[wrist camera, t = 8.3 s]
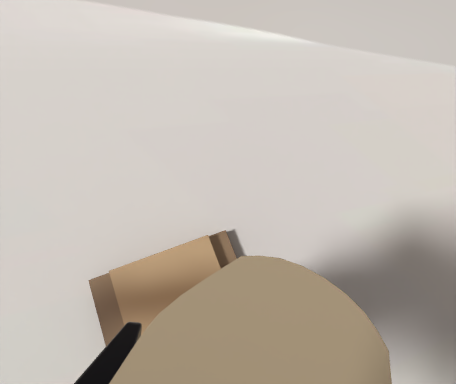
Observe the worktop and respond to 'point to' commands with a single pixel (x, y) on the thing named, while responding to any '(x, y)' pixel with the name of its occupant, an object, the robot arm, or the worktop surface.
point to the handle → (259, 332)
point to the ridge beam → (156, 282)
